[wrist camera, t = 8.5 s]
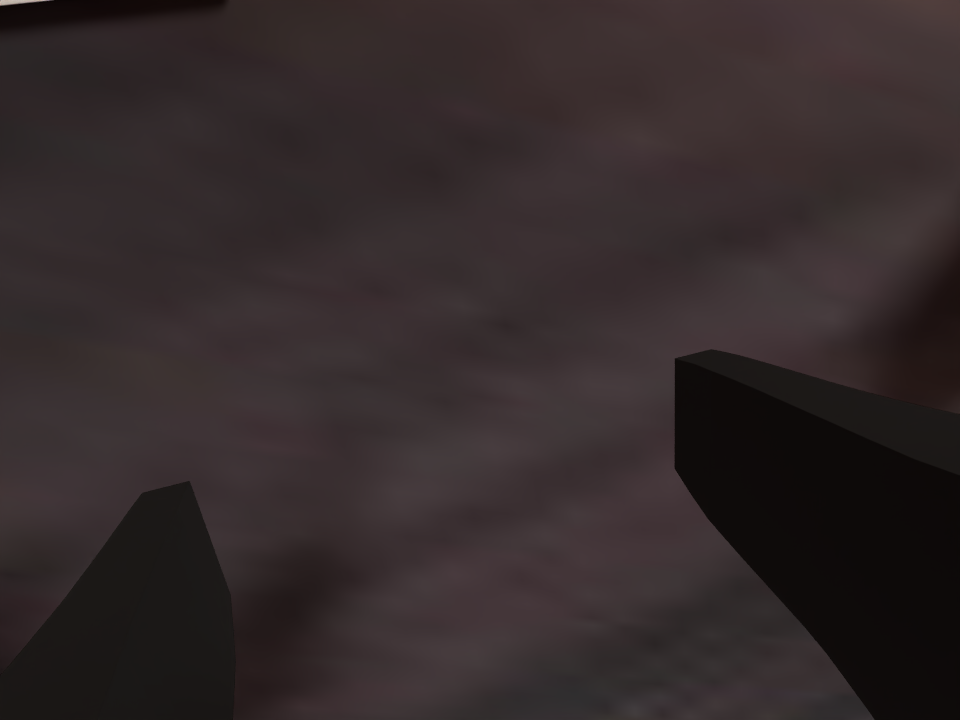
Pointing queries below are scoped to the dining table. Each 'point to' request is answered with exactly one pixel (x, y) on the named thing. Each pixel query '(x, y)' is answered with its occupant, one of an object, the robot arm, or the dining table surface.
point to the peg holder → (18, 1)
